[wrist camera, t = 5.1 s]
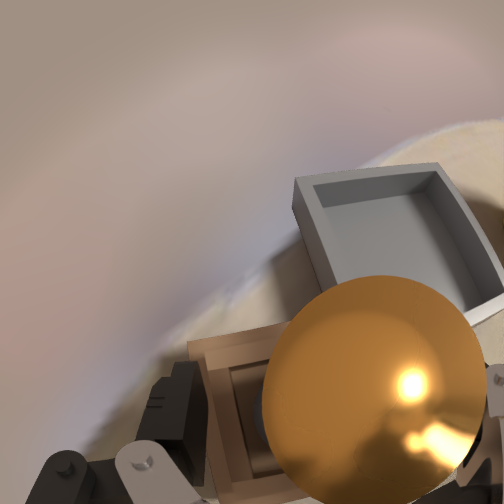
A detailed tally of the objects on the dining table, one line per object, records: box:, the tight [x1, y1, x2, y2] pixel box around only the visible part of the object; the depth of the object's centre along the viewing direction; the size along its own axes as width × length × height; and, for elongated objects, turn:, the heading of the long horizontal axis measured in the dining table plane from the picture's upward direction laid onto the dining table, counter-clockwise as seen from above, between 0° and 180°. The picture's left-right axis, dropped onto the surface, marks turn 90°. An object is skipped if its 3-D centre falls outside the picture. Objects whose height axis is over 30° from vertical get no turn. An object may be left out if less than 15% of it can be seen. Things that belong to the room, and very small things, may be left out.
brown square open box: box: [187, 321, 310, 504], centre depth 14 cm, size 10×10×4 cm
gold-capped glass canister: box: [253, 275, 487, 504], centre depth 9 cm, size 4×4×12 cm
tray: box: [292, 162, 504, 328], centre depth 20 cm, size 14×14×4 cm
